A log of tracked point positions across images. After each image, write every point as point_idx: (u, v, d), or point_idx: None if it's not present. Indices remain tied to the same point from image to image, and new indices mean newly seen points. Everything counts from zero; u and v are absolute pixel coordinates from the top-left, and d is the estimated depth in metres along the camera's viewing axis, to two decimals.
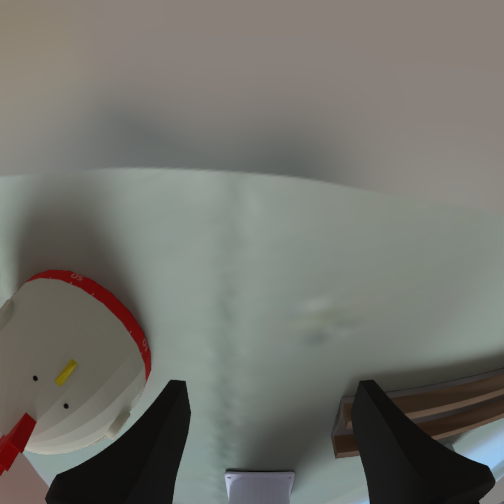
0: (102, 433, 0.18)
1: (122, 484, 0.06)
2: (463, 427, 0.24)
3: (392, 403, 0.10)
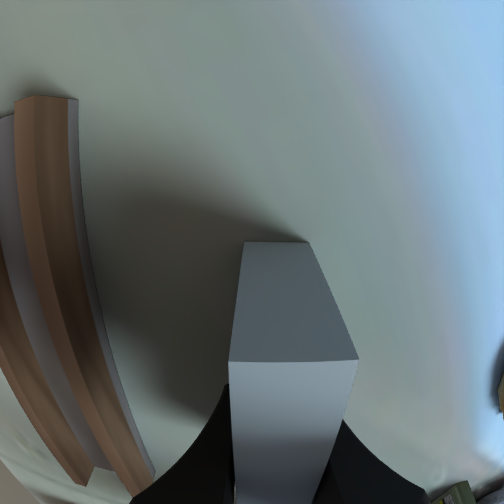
0: None
1: (210, 498, 0.06)
2: (53, 343, 0.11)
3: None
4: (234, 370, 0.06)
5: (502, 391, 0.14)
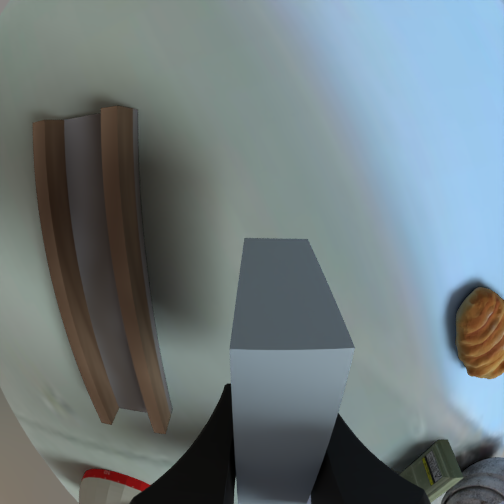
0: None
1: (210, 498, 0.06)
2: (114, 274, 0.17)
3: None
4: (235, 357, 0.06)
5: (457, 341, 0.21)
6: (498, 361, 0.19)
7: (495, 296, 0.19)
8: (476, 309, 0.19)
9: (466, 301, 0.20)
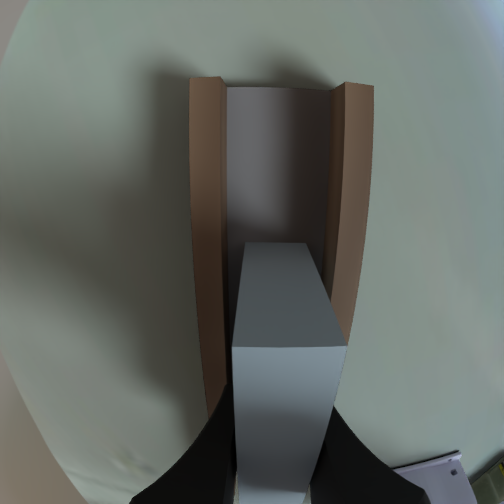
0: None
1: (210, 498, 0.06)
2: None
3: (333, 410, 0.10)
4: (237, 355, 0.07)
5: None
6: None
7: None
8: None
9: None
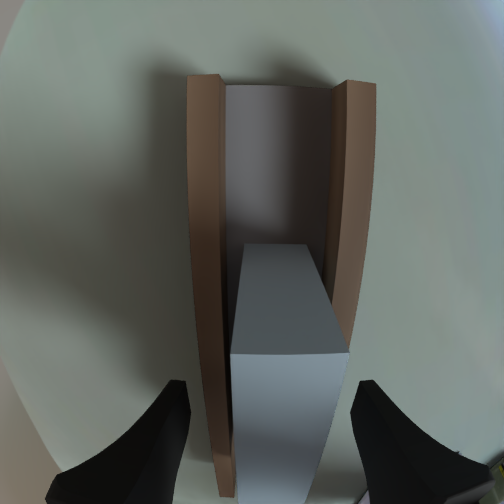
0: None
1: (122, 484, 0.06)
2: None
3: (392, 403, 0.10)
4: (236, 362, 0.06)
5: None
6: None
7: None
8: None
9: None
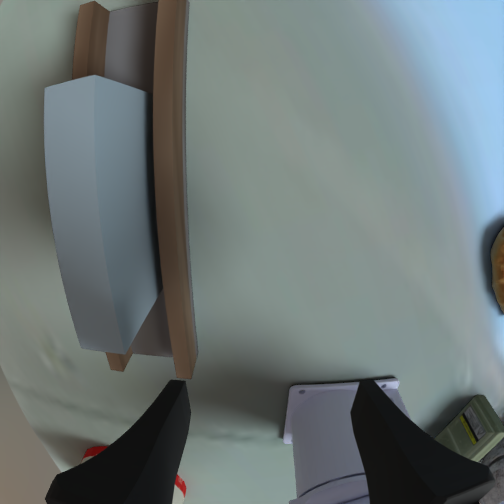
0: None
1: (122, 484, 0.06)
2: (153, 148, 0.15)
3: (392, 403, 0.10)
4: (46, 92, 0.09)
5: (494, 281, 0.19)
6: None
7: None
8: None
9: (499, 236, 0.18)
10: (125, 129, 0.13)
